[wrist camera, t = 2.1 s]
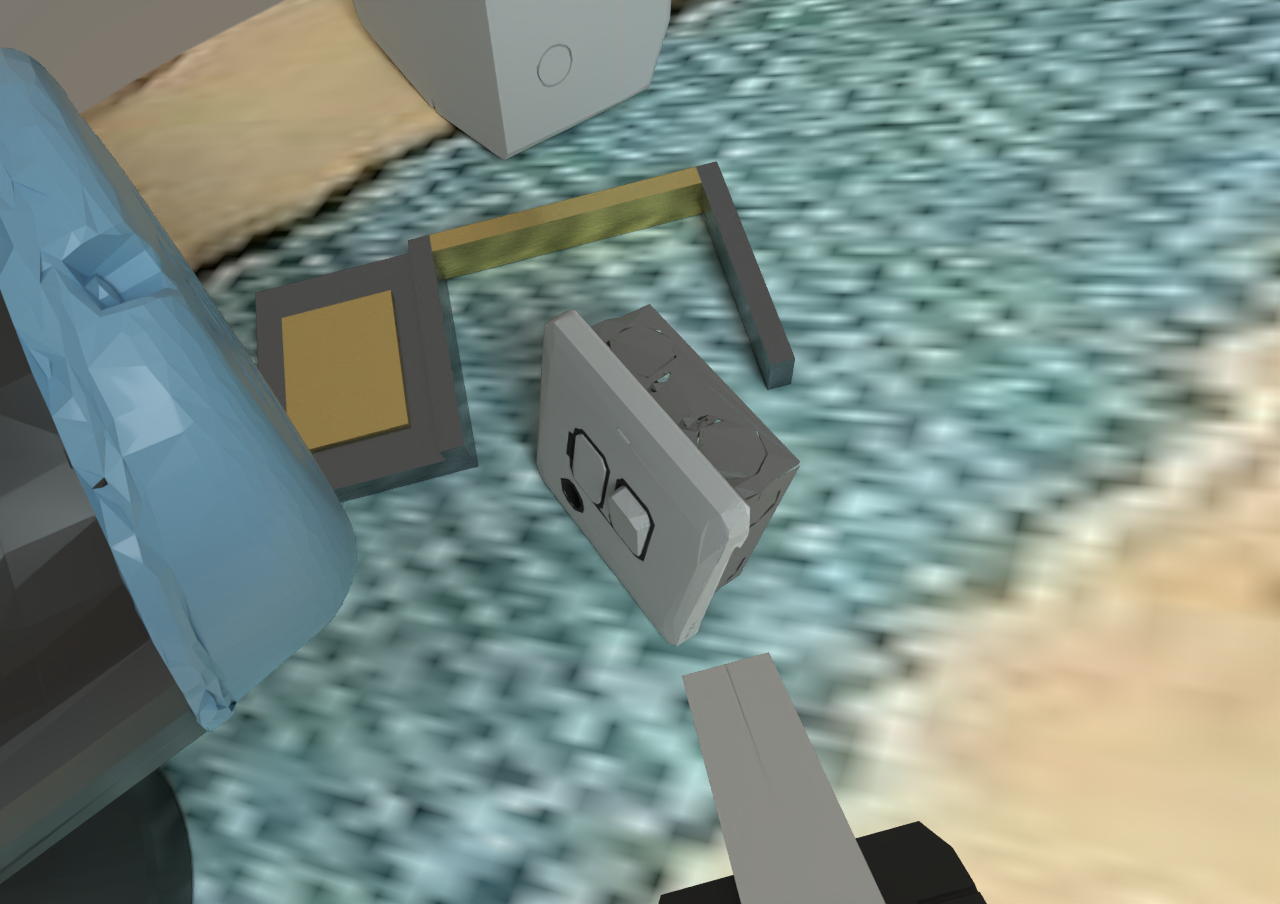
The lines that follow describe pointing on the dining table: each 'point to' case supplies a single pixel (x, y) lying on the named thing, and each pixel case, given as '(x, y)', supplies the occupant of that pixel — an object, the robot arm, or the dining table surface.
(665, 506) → the electrical switch
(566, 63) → the electrical switch box
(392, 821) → the dining table surface
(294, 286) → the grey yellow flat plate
